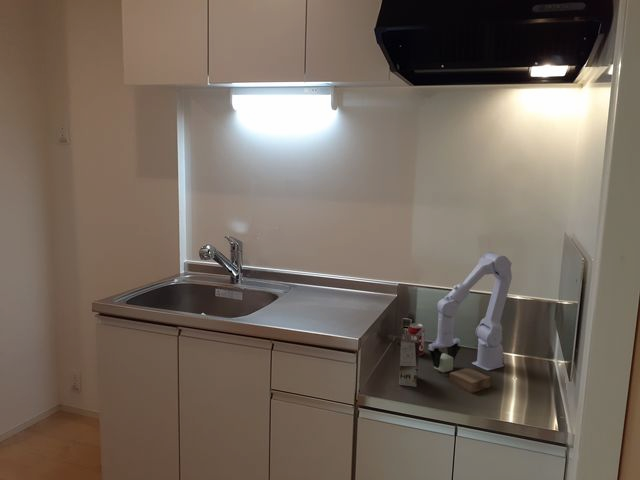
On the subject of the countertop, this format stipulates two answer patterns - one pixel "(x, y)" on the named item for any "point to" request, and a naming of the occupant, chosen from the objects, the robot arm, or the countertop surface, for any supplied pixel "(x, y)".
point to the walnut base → (469, 380)
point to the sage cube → (445, 363)
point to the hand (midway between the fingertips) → (443, 365)
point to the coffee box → (409, 360)
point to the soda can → (420, 331)
